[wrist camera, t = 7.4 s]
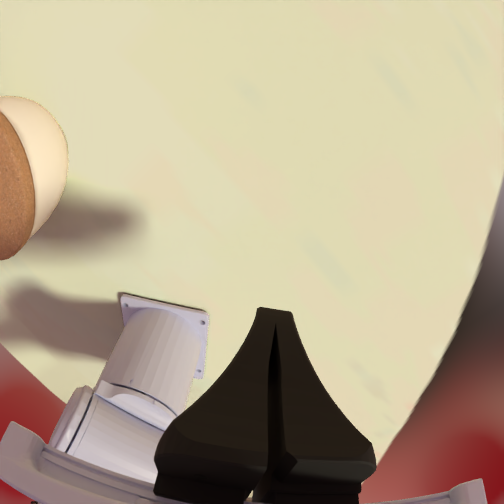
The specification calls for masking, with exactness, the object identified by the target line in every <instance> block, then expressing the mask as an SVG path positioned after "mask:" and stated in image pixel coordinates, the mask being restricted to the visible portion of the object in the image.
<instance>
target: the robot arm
mask: <svg viewBox="0 0 504 504" xmlns="http://www.w3.org/2000/svg"><path fill="white" fill-rule="evenodd" d="M120 301H121V308H122V315H123V322H124V329H123V331H122V333H121V335H120V337H119V339H118V341H117V343H116V345H115V347H114V349H113V351H112V353H111V355H110V357H109V359H108V361H107V363H106V365H105V367H104V369H103V371H102V373H101V375H100V377H99V379H98V382H97V384H96V386H95V387H94V388H93V390H92V388H90V387H89V386H87V385H85V386H84V387H79V388H76V389H75V391H74V392H73V394H72V396H71V398H70V399H69V401H68V403H67V405H66V407H65V409H64V411H63V413H62V415H61V417H60V419H59V421H58V423H57V425H56V427H55V429H54V432H53V434H52V436H51V439H50V441H49V444H48V445H47V444H45V443H44V441H43V440H42V439H41V438H40V437H39V436H38V435H37V434H35V433H34V432H32V431H30V430H28V429H26V428H24V427H22V426H21V425H19V424H17V423H15V422H10V424H9V426H8V428H7V430H6V432H5V434H4V436H3V438H2V440H1V442H0V479H2V480H3V481H4V482H6V483H7V484H9V485H10V486H12V487H13V488H15V489H16V490H18V491H20V492H21V493H23V494H25V495H26V496H28V497H30V498H32V499H33V500H35V501H37V502H39V503H41V504H359V500H358V499H359V498H358V493H360V492H361V483H362V482H363V481H364V480H366V479H367V478H368V477H370V476H371V475H372V474H373V473H374V472H375V471H376V458H375V454H374V450H373V446H372V443H371V442H370V441H369V440H368V439H367V438H366V437H365V436H363V435H362V434H361V433H360V432H359V431H358V430H357V429H356V428H355V427H354V426H353V424H352V423H351V422H350V421H349V420H348V419H347V418H346V416H345V415H344V414H343V413H342V411H341V410H340V409H339V408H338V406H337V405H336V404H335V402H334V401H333V400H332V398H331V397H330V395H329V394H328V392H327V391H326V389H325V388H324V386H323V384H322V383H321V381H320V379H319V378H318V376H317V374H316V372H315V370H314V368H313V366H312V364H311V362H310V360H309V358H308V356H307V354H306V351H305V349H304V347H303V344H302V342H301V339H300V337H299V334H298V331H297V328H296V325H295V322H294V318H293V314H292V313H291V312H289V311H283V310H276V309H270V308H264V307H259V308H257V312H256V316H255V319H254V322H253V325H252V327H251V329H250V331H249V333H248V335H247V337H246V339H245V341H244V343H243V344H242V346H241V348H240V349H239V351H238V352H237V354H236V355H235V357H234V358H233V360H232V361H231V363H230V364H229V365H228V367H227V368H226V369H225V371H224V372H223V373H222V374H221V376H220V377H219V378H218V379H217V380H216V381H215V382H214V384H213V385H212V386H211V387H210V388H209V389H208V390H207V391H206V392H205V393H204V394H203V395H202V396H201V397H200V398H199V399H198V400H197V401H196V402H195V403H193V404H192V405H191V406H190V407H189V408H188V409H186V410H185V407H186V403H187V399H188V396H189V392H190V388H191V384H192V381H193V378H196V379H202V378H203V377H204V369H205V358H206V347H207V336H208V326H209V314H208V313H207V312H204V311H199V310H195V309H190V308H185V307H180V306H176V305H171V304H166V303H162V302H157V301H153V300H148V299H144V298H140V297H136V296H131V295H127V294H123V295H122V296H121V298H120ZM127 304H128V305H127ZM201 320H203V321H205V322H203V321H201ZM252 490H254V491H253V496H252V502H248V501H246V499H247V498H248V496H249V494H250V493H251V491H252ZM367 504H487V501H486V496H485V491H484V486H483V481H482V479H476V480H473V481H469V482H465V483H462V484H460V485H457V486H455V487H454V488H452V489H451V490H450V491H447V492H442V493H437V494H432V495H427V496H422V497H416V498H409V499H403V500H395V501H387V502H378V503H367Z"/></svg>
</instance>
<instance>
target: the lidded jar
mask: <svg viewBox="0 0 504 504" xmlns="http://www.w3.org/2000/svg"><path fill="white" fill-rule="evenodd" d="M68 163H69V160H68V146H67V141H66V138H65V135H64V132H63V130H62V129H61V127H60V125H59V124H58V122H57V121H56V119H55V118H54V117H53V116H52V114H51V113H50V112H49V111H48V110H46V109H45V108H44V107H43V106H41V105H40V104H38V103H37V102H35V101H32V100H30V99H26V98H23V97H16V96H1V97H0V260H5V259H9V258H10V257H12V256H14V255H15V254H16V253H17V252H18V251H19V250H20V249H21V248H22V247H23V246H24V245H25V244H26V242H27V240H29V239H30V238H31V237H32V236H33V235H34V234H35V233H36V232H37V231H38V230H39V229H40V228H41V227H42V226H43V224H44V223H45V222H46V221H47V220H48V218H49V217H50V215H51V214H52V212H53V211H54V209H55V208H56V206H57V205H58V203H59V200H60V198H61V196H62V194H63V192H64V188H65V185H66V181H67V175H68Z"/></svg>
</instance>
